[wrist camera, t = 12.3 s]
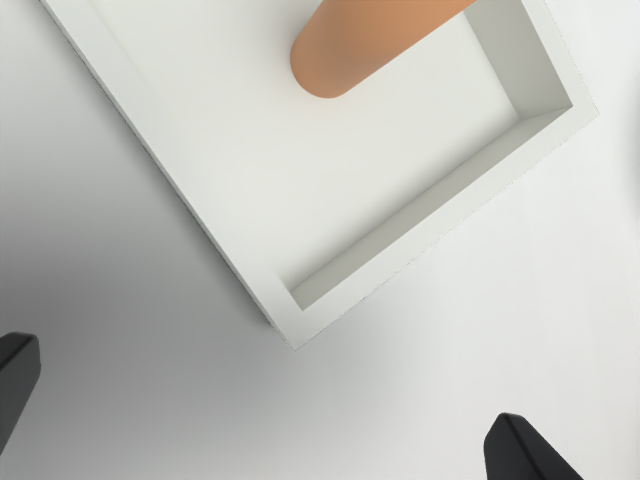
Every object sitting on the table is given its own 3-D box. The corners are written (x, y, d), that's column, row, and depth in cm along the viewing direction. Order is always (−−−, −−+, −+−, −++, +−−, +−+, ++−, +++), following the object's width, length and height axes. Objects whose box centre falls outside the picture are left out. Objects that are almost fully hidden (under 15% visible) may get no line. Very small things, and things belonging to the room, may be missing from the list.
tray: (272, 326, 21) (295, 351, 17) (25, -19, 18) (-15, -84, 14) (532, 130, 24) (599, 114, 21) (366, -189, 21) (409, -279, 17)
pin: (288, 93, 20) (448, -72, 8) (291, 19, 20) (457, -251, 8) (357, 102, 21) (587, -37, 9) (360, 30, 21) (597, -200, 9)
